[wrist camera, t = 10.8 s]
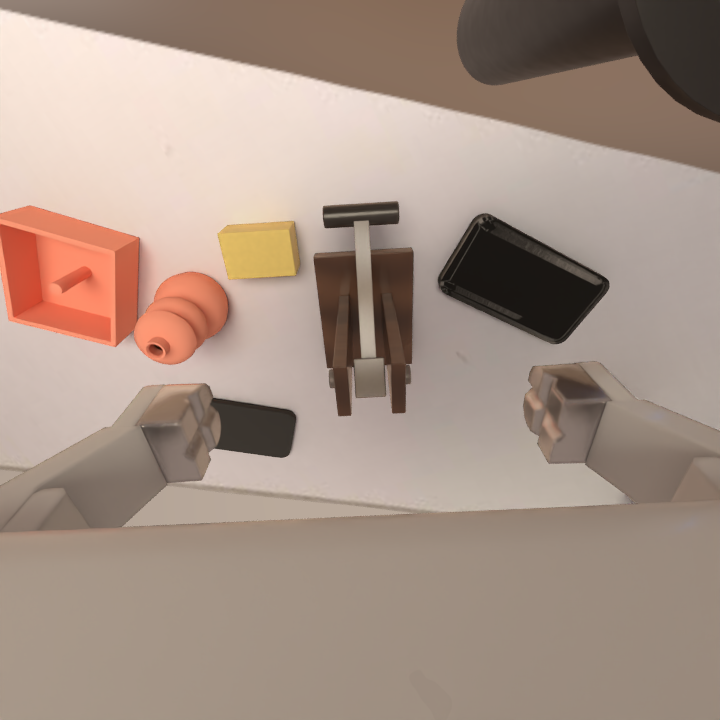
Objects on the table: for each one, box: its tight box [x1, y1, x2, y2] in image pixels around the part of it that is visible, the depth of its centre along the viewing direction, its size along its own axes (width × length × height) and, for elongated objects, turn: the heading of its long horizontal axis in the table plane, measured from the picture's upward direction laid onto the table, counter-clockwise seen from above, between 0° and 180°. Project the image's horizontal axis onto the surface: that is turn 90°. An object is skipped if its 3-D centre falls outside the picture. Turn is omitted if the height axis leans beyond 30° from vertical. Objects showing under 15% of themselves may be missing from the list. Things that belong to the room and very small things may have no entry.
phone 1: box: [210, 399, 296, 458], centre depth 47 cm, size 7×1×15 cm
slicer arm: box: [323, 201, 399, 398], centre depth 29 cm, size 14×6×2 cm
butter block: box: [218, 221, 300, 280], centre depth 35 cm, size 4×6×3 cm, turn 94°
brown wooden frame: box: [314, 248, 413, 416], centre depth 34 cm, size 12×9×14 cm
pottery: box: [0, 206, 228, 365], centre depth 34 cm, size 18×10×10 cm, turn 72°
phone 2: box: [438, 214, 609, 344], centre depth 37 cm, size 8×1×15 cm
